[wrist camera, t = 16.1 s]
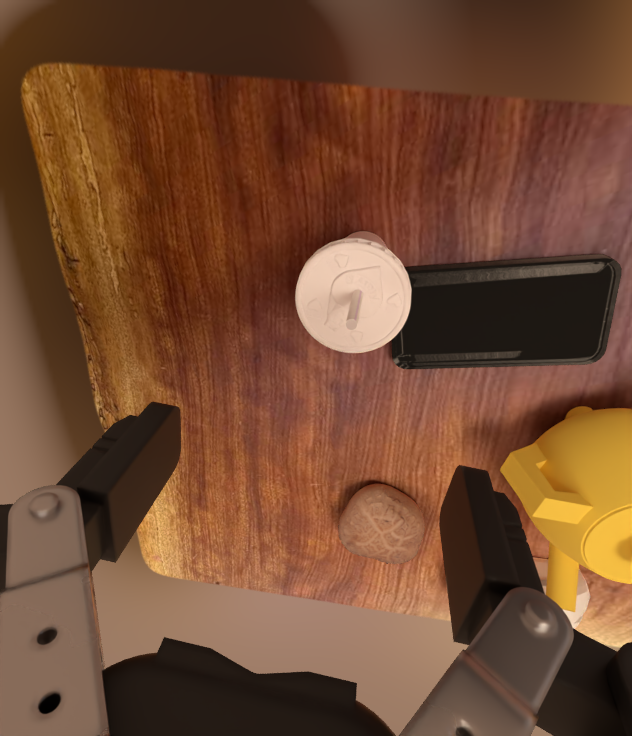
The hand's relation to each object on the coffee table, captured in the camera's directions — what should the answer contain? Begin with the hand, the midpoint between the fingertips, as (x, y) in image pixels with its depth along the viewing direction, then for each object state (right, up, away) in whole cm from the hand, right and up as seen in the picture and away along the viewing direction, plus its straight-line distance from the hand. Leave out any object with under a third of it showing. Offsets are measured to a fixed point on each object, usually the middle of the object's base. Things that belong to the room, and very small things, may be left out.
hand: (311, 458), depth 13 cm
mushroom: (+7, -11, +31) cm, 34 cm away
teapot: (+23, -4, +25) cm, 34 cm away
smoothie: (+4, +11, +20) cm, 23 cm away
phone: (+13, +7, +20) cm, 25 cm away
